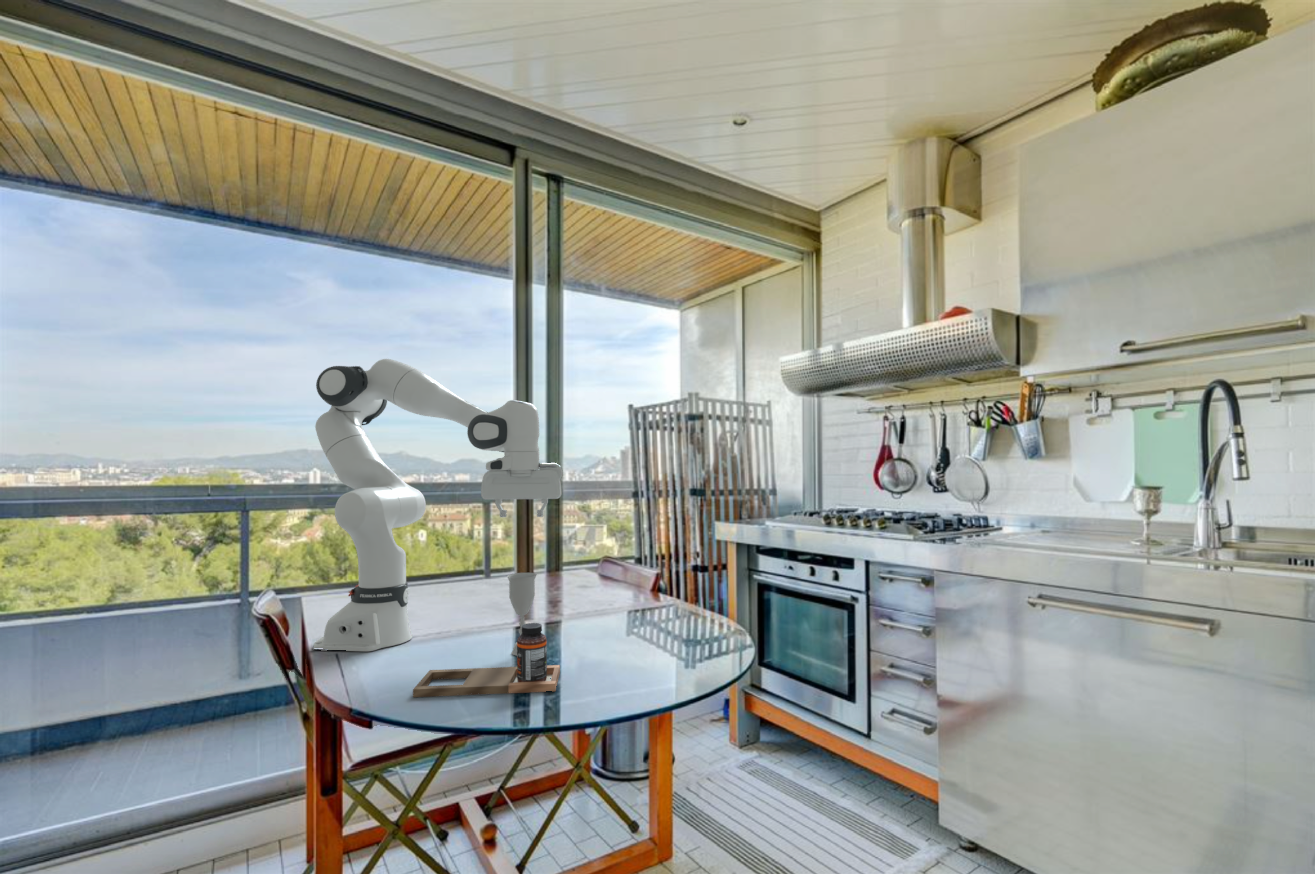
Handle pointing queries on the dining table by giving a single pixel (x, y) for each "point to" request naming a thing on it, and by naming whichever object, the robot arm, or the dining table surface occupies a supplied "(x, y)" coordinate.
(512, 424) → the robot arm
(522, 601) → the chalice
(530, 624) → the supplement bottle
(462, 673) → the wooden compartment tray
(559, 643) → the dining table surface
